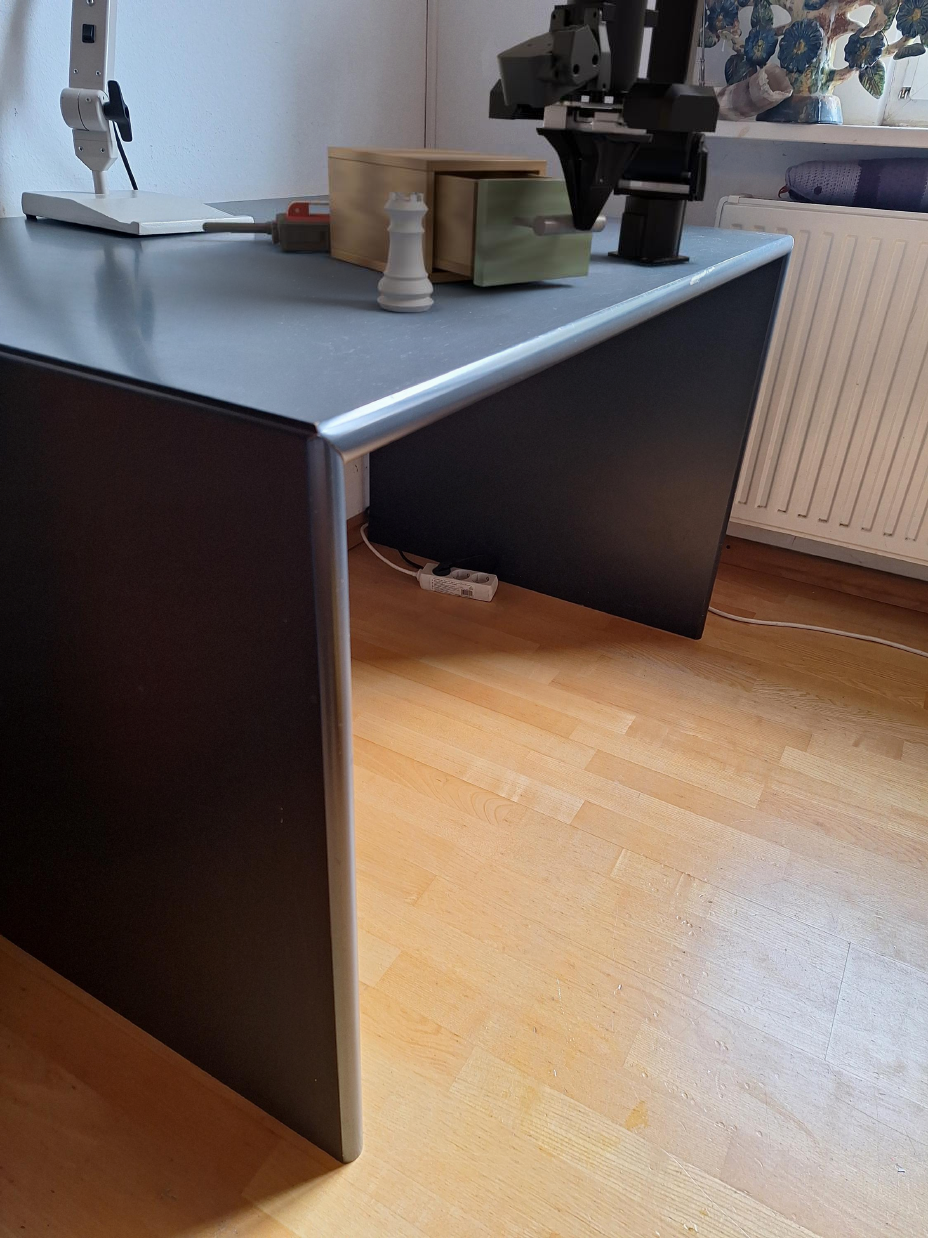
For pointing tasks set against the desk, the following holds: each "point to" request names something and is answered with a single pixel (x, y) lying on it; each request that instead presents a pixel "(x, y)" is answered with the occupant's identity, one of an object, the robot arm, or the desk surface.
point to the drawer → (507, 227)
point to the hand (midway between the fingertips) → (582, 230)
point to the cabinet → (377, 171)
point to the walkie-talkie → (288, 228)
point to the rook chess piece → (405, 257)
